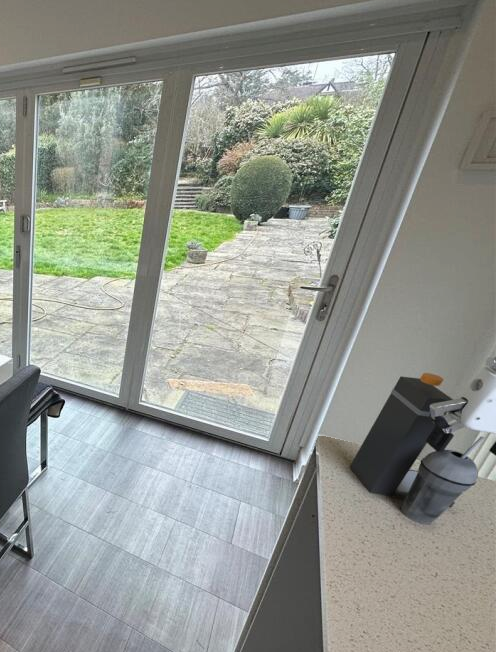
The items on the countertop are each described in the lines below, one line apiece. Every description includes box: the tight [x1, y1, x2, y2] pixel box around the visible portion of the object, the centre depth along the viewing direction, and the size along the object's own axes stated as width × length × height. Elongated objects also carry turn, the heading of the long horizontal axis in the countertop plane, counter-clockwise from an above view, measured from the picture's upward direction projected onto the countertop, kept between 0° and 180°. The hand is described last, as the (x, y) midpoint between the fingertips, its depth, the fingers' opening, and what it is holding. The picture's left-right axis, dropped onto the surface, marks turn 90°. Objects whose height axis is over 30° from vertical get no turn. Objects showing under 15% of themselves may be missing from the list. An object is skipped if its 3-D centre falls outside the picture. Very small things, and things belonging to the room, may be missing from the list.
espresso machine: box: [349, 376, 455, 508], centre depth 83 cm, size 14×9×24 cm, turn 77°
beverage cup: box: [400, 435, 485, 526], centre depth 76 cm, size 7×7×20 cm
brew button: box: [419, 372, 444, 387], centre depth 77 cm, size 3×3×1 cm
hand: (465, 451), depth 73 cm, fingers open, 9 cm apart
